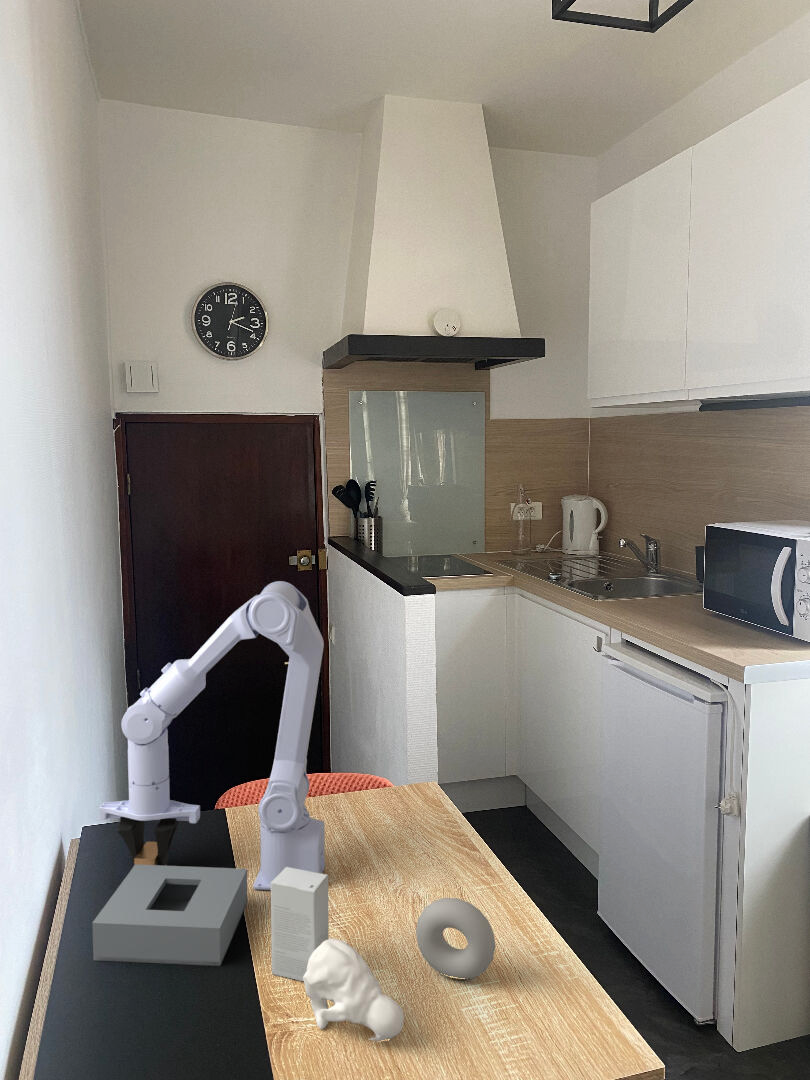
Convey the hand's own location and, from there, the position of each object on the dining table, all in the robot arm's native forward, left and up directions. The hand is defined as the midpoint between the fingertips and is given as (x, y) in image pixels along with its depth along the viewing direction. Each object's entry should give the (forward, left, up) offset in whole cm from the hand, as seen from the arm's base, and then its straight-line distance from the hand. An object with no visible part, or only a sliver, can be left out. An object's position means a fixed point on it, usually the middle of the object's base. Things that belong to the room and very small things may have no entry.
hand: (151, 865), depth 120 cm
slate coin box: (-8, +13, -2) cm, 15 cm away
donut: (-45, +20, -2) cm, 49 cm away
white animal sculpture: (-34, +29, -2) cm, 45 cm away
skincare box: (-26, +20, -2) cm, 33 cm away
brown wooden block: (0, 0, -2) cm, 2 cm away
